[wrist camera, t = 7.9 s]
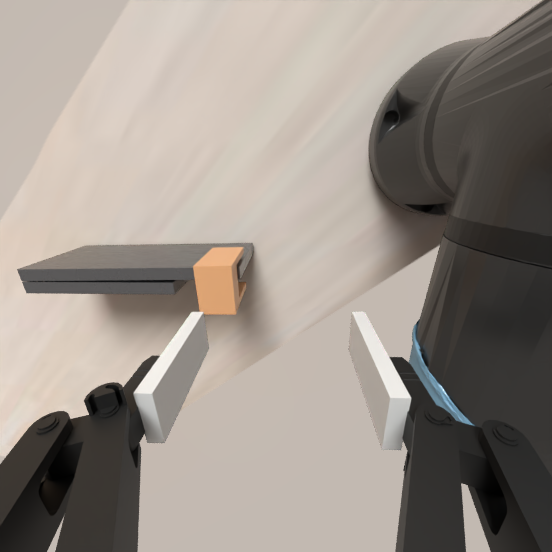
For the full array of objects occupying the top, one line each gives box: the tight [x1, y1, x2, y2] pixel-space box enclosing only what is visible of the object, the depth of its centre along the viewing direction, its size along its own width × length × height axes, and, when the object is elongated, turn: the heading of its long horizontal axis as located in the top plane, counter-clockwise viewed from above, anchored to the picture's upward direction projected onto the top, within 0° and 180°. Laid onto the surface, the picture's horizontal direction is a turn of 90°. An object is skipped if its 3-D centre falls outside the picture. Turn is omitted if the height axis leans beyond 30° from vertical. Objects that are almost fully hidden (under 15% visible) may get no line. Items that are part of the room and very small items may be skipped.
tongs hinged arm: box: [22, 280, 188, 294], centre depth 30 cm, size 15×1×9 cm, turn 91°
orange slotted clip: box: [193, 247, 246, 314], centre depth 25 cm, size 3×4×6 cm
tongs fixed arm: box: [17, 243, 253, 281], centre depth 29 cm, size 22×3×9 cm, turn 92°
